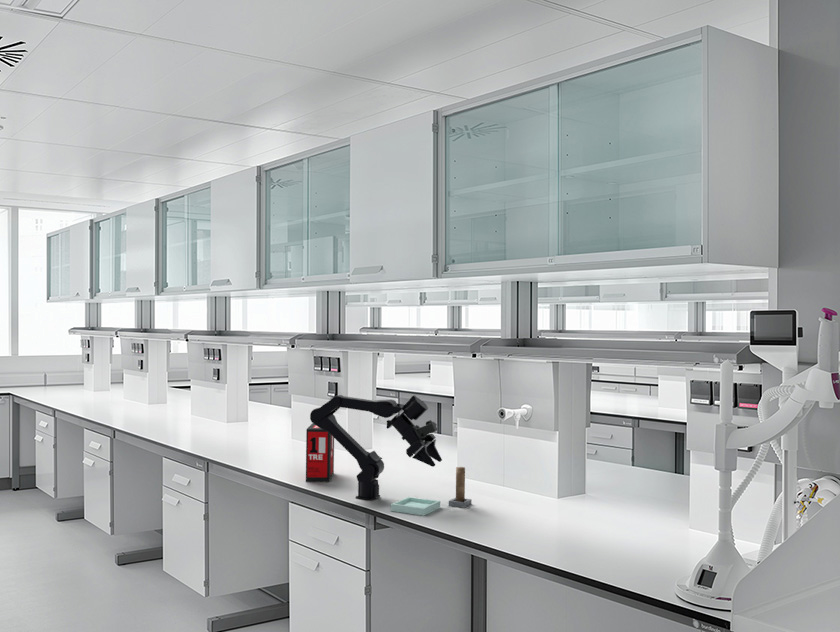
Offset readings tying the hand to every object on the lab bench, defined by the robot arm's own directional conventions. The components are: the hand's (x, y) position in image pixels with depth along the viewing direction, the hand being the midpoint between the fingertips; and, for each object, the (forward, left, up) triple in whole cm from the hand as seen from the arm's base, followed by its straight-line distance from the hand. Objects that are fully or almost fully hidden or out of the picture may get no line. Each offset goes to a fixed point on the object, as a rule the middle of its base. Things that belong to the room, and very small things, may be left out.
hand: (437, 463), depth 262 cm
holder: (+8, +2, -13) cm, 16 cm away
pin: (+8, +2, -13) cm, 16 cm away
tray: (-2, -11, -13) cm, 18 cm away
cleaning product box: (-58, +15, -14) cm, 62 cm away
